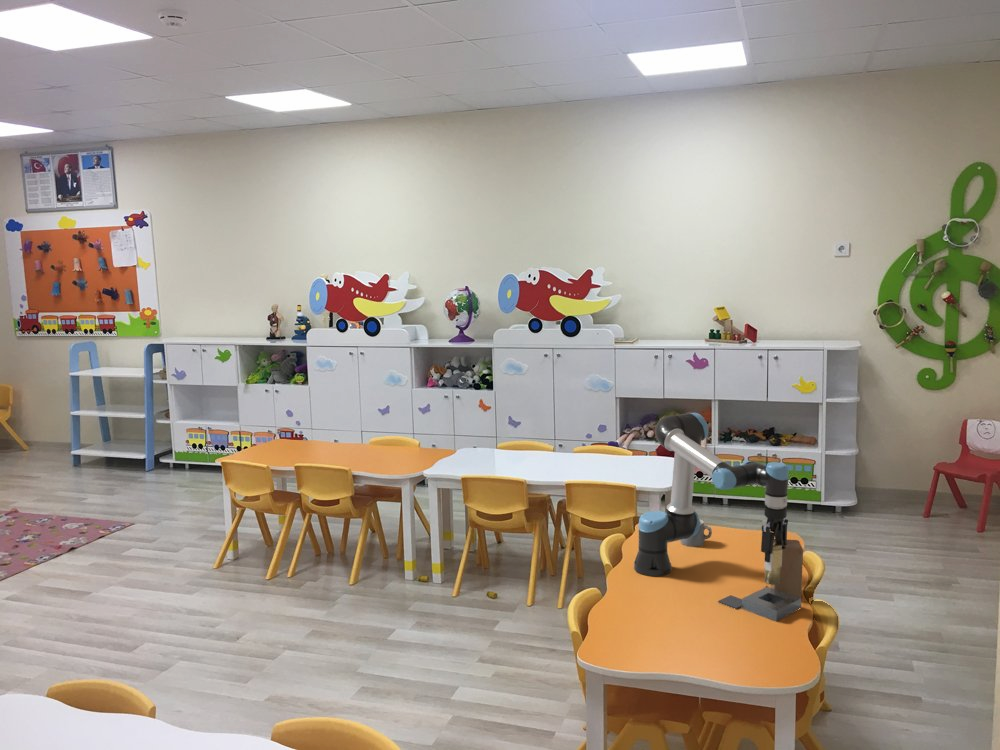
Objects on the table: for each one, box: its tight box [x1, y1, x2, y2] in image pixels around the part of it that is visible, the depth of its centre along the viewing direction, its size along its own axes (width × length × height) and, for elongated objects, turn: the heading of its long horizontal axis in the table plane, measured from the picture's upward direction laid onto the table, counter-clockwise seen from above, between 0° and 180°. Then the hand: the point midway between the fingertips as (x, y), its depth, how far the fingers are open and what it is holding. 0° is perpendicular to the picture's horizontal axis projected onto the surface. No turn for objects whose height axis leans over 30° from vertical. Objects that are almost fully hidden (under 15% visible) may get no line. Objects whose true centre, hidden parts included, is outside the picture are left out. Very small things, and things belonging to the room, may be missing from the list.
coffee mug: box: [680, 518, 713, 548], centre depth 364 cm, size 13×10×10 cm
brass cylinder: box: [764, 542, 782, 586], centre depth 294 cm, size 5×5×14 cm
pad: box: [717, 594, 742, 610], centre depth 302 cm, size 8×8×1 cm
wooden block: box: [770, 538, 804, 599], centre depth 308 cm, size 10×10×20 cm
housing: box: [741, 586, 802, 623], centre depth 296 cm, size 14×16×4 cm
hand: (773, 567), depth 294 cm, fingers closed on brass cylinder, 5 cm apart
